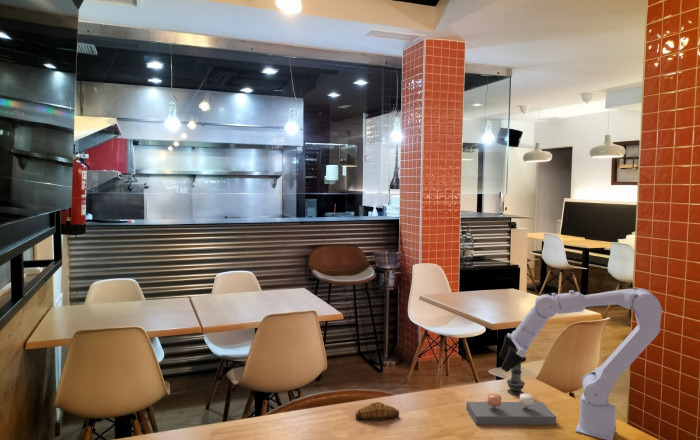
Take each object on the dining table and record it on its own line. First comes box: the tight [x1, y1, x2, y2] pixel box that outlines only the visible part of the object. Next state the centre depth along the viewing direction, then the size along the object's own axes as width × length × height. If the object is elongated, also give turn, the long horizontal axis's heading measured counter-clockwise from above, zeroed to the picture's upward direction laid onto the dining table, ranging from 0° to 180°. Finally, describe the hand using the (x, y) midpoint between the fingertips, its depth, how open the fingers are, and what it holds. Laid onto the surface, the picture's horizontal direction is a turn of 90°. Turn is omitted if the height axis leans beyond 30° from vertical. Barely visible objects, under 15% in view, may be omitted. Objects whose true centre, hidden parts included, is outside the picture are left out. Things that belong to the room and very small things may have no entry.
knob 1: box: [486, 392, 502, 410], centre depth 148 cm, size 4×4×5 cm
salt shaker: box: [506, 363, 526, 397], centre depth 167 cm, size 6×6×12 cm
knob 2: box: [519, 393, 535, 410], centre depth 149 cm, size 4×4×5 cm
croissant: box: [354, 401, 400, 421], centre depth 146 cm, size 14×7×5 cm, turn 100°
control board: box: [465, 401, 557, 426], centre depth 149 cm, size 24×10×2 cm, turn 92°
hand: (502, 364), depth 150 cm, fingers open, 7 cm apart
